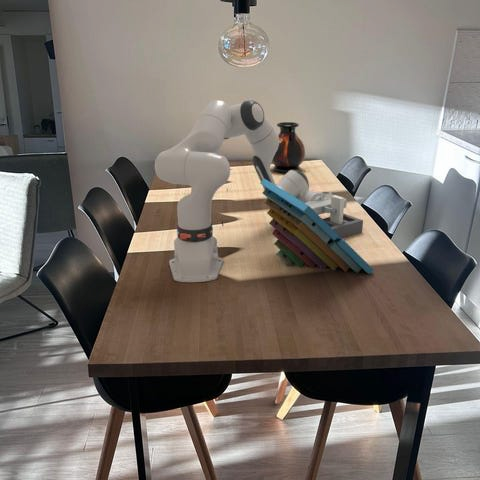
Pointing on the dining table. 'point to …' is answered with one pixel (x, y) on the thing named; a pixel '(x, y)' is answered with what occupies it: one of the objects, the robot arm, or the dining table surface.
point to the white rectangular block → (339, 205)
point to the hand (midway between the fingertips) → (338, 210)
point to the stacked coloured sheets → (307, 234)
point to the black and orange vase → (288, 149)
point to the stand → (346, 226)
